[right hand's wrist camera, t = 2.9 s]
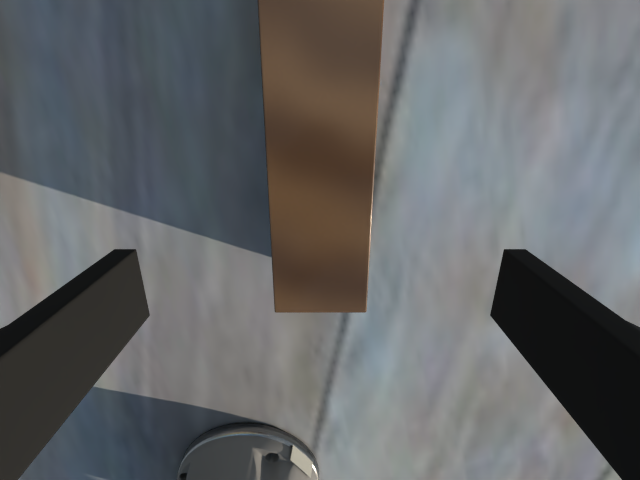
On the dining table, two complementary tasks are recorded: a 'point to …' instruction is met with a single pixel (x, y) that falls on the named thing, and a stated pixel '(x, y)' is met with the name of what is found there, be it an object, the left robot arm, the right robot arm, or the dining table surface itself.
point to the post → (320, 147)
